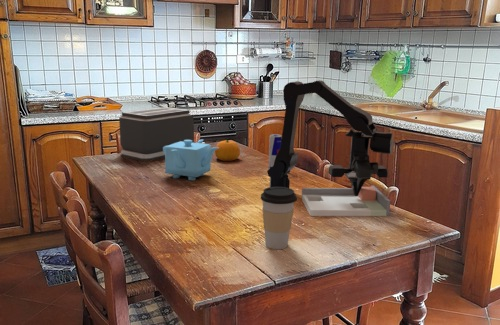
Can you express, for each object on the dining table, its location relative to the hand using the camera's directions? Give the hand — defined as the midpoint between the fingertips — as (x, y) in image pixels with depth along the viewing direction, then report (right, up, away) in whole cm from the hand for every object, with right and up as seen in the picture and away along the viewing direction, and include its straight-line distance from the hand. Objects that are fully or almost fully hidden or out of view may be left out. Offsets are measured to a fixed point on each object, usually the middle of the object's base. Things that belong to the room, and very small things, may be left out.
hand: (356, 195), depth 160 cm
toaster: (-80, +16, +71) cm, 108 cm away
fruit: (-46, +12, +61) cm, 77 cm away
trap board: (-5, -4, -3) cm, 7 cm away
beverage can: (-25, +8, +44) cm, 52 cm away
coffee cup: (-29, -11, -34) cm, 45 cm away
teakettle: (-59, +5, +31) cm, 67 cm away
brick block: (+4, -1, +1) cm, 4 cm away
